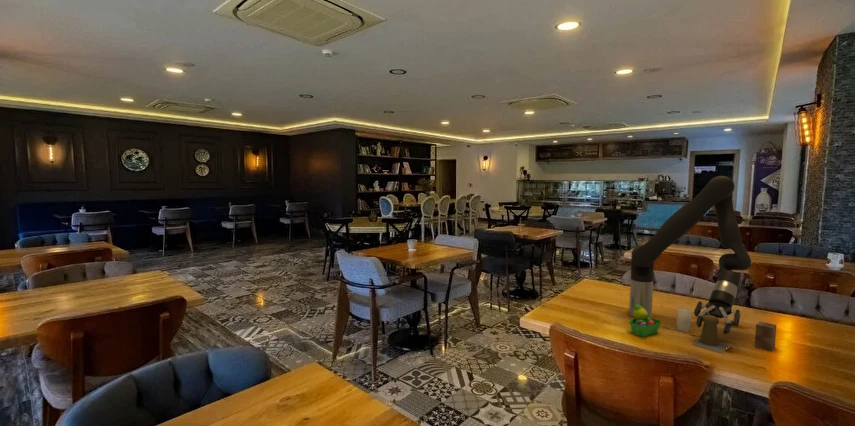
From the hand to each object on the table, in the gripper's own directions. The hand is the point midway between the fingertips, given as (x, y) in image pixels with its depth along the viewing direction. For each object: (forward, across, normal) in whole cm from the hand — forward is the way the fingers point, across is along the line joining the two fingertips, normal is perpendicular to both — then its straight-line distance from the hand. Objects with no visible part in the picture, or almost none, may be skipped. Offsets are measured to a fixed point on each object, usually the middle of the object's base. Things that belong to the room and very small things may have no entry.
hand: (711, 329), depth 152 cm
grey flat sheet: (+4, 0, +6) cm, 7 cm away
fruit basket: (+9, -22, +1) cm, 24 cm away
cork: (+3, -2, +7) cm, 8 cm away
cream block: (-2, -13, +12) cm, 18 cm away
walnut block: (-6, +13, +15) cm, 21 cm away
